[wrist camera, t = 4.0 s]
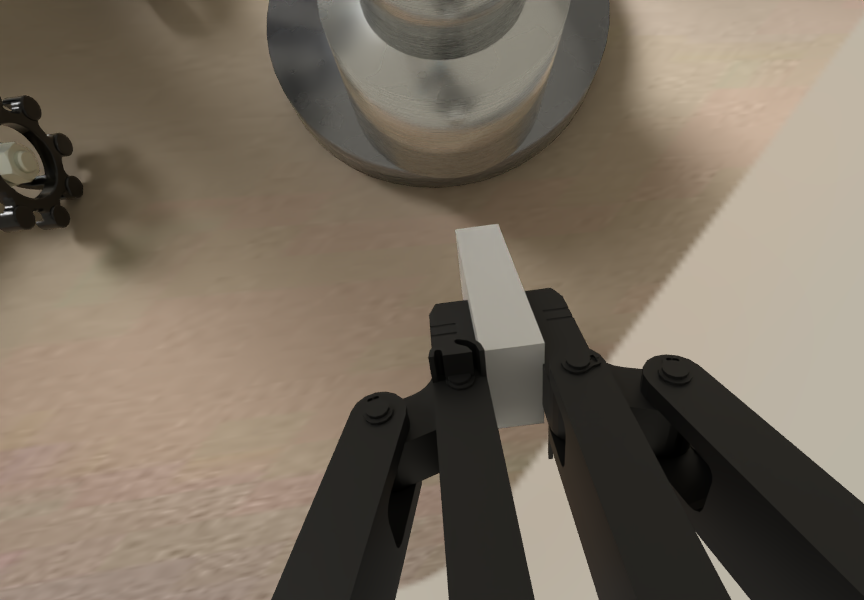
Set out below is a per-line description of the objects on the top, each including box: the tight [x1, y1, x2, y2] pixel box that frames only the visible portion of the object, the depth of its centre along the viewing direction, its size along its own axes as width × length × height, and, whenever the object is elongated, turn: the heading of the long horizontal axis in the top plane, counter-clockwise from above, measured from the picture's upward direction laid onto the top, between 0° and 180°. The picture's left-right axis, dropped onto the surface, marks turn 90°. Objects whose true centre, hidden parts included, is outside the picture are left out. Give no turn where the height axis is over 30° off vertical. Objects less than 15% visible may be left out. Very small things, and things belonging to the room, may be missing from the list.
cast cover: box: [317, 0, 570, 178], centre depth 18 cm, size 9×9×9 cm
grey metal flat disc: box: [267, 0, 610, 187], centre depth 24 cm, size 17×17×2 cm
